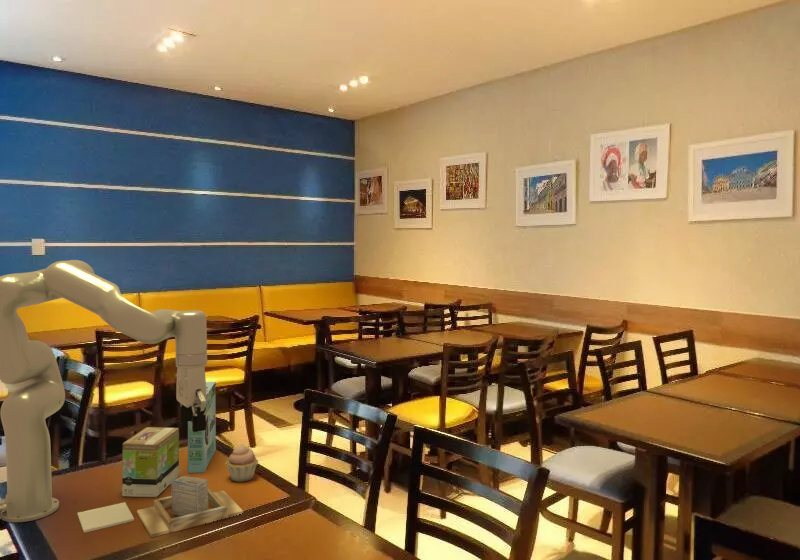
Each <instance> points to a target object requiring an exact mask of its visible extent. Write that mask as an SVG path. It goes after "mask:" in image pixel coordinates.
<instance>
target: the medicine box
mask: <svg viewBox="0 0 800 560" xmlns="http://www.w3.org/2000/svg"><path fill="white" fill-rule="evenodd" d="M170 485H171V496H172V507H171V514H172V515H173V516H177V517H181V516H185V515H189V514H193V513H197V512H201V511H205V510H209V501H208V488H209V481H208V479H207V478H199V477H192V476H186V475H181V476H180V477H179V476H178V477H177V478H176V479H175V480H174V481H172V482H171V484H170Z"/></svg>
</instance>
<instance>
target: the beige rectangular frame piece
mask: <svg viewBox="0 0 800 560" xmlns="http://www.w3.org/2000/svg"><path fill="white" fill-rule="evenodd" d="M208 504H210V505H211V506H212V507H213V508H208V510H205V511H201V512H197V513H193V514H189V515H185V516H177V517H173V518H172V517H171V516H170V515H169V513H168V512H167V510H166V509H168V508H172V495H169V496H165V497H161V498H156V499H153V506H150V507H149V506H148V507H145V508H140V509H136V514H137V515H138V517H139V519H140V521H141V523H142V524H143V526H144V528H145V530H146V531H147V533H148V536H149V537H150V538H151V539H152V538H155V537H158V536H164V535H167V534H172V533H175V532H178V531H183V530H186V529H191V528H194V527H199V526H201V525H206V524H210V523H214V522H217V520H218V521H221V519H222V520H225V518H226V519H229V517H230V518H233V516H234V517H237V516H240V515H239V514H241V515H243V514H244V510H243V509H242V508H241V507H240V506H239V505H238V504H237V502H235V501H234V499H233V498H231V497H230V496H229V494H227V492H226V491H224V490H219V491H213V490H211V488H210V487H208ZM242 513H243V514H242ZM236 515H237V516H236ZM213 521H214V522H213ZM205 523H206V524H205Z"/></svg>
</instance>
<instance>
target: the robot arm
mask: <svg viewBox="0 0 800 560" xmlns="http://www.w3.org/2000/svg"><path fill="white" fill-rule="evenodd" d="M61 298H62V299H65V300H66V301H68V302H71V303H73V304H75V305H77V306H79V307H81V308H83V309H85V310H87V311H89V312H91V313H94V314H95V315H97V316H98V317H99V318H100V319H101V320H103V322H104V323H106V324H108V326H110V328H113V330H116V331H118V332H119V333H121V334H122V335H125V336H127V337H129V338H132V339H133V340H136V341H138V342H141V343H143V344H148V345H154V344H158V343H160V342H161V343H162V342H163V341H165V340H167V339H170V338H174V341H175V342H174V344H175V345H174V346H175V350H174V351H175V367H176V368H177V369H176V386H175V387H176V389H175V391H176V392H175V395H176V401H177V402H178V403H179V406H180V407H179V414H180V418H179V420H180V422H181V423H186V422H187V423H188V421H192V431H193V432H198V431H204V430H206V407H205V406H206V382H207V379H206V370H205V366H207V365H208V340H207V338H208V337H207V336H208V335H207V333H208V330H207V329H208V328H207V315H206V313H205V312H204V311H202V310H199V309H198V310H197V309H192V310H190V309H187V310H174V309H169V308H168V309H166V308H159V309H157V310H153V311H148V310H147V309H144V308H142V307H140V306H137V305H136V304H134V303H132V302H131V301H129V300H128V299H127V298H126V297H124V296H123V294H122V293H121V290H120V287H119V286H118V285H117V284H116V283H114V282H112V281H110V280H107V279H105V278H103V277H102V276H99V275H97V274H96V273H95V271H94V268H93V267H91V266H90V264H89V263H87V262H85V261H83V260H79V259H69V260H68V259H67V260H58V261H54V262H53V263H51V264H49V265H48V266H47V267H46V268H43V269H39V270H35V271H29V272H17V273H9V274H4V275H0V382H2V383H3V384H6V385H18V384H21V383H22V384H23V387H21V388H19V389H17V390H15V391H13V392H12V393H10V394H9V395H7V397H6V398H5V399H4V400H3V402H2V404H1V407H0V419H1V424H2V428H3V432H4V433H3V434H4V441H5V459H6V460H5V463H6V464H5V465H6V492H7V494H5V498H0V519H1V520H2V521H5V522H8V523H25V522H32V521H35V520H39V519H40V520H41V519H42V518H45V517H47V516H49V515H52V514H54V513H55V512H56V511H57V510H58V509H59V507H60V500H58V498H55V497H53V492H52V491H53V489H52V488H53V487H52V486H53V485H52V483H53V482H52V454H51V453H52V451H51V436H50V431H49V429H48V426H47V423H46V419H47V418H48V417H50V416H52V415H53V414H55V413H56V412H58V411H59V410H60V409H62V407H63V406H64V404H65V400H66V390H65V386H64V383H63V378H62V374H61V373H60V372H61V371H60V368H59V365H58V360H57V358H56V354H55V353H54V351H53V350H52V348H51V347H50V346H49V345H48V344H47V343H45V342H43V341H42V340H36V339H35V340H34V339H30V338H29V336H28V332H27V328H26V325H25V323H24V321H23V319H22V318H21V316H19V315H18V312H17V310H18V309H20V308H26V307H31V306H36V305H40V304H45V303H47V302H51V301H54V300H55V301H56V300H59V299H61ZM196 407H198V408H197V410H196ZM193 415H194V416H193Z"/></svg>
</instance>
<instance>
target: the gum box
mask: <svg viewBox="0 0 800 560" xmlns="http://www.w3.org/2000/svg"><path fill="white" fill-rule="evenodd" d="M216 390H217V389H216V381H206V406H205V407H206V430H204V431H198V432H193V431H192V421H188V422H187V473H188V474H204V473H205V472H206V469H207V468H208V466H209V464H210V461H211V460H212V458H213V456H214V454H215V453H216V450H217V449H216V447H217V445H216V444H217V442H216V441H217V440H216V439H217V438H216V435H217V432H216V429H217V427H216V426H217V424H216V421H217V420H216V415H217V414H216V411H217V410H216V409H217V408H216V407H217V405H216V396H217V395H216V394H217V393H216ZM197 408H198V407H196V410H197ZM193 416H194V415H193Z"/></svg>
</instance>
